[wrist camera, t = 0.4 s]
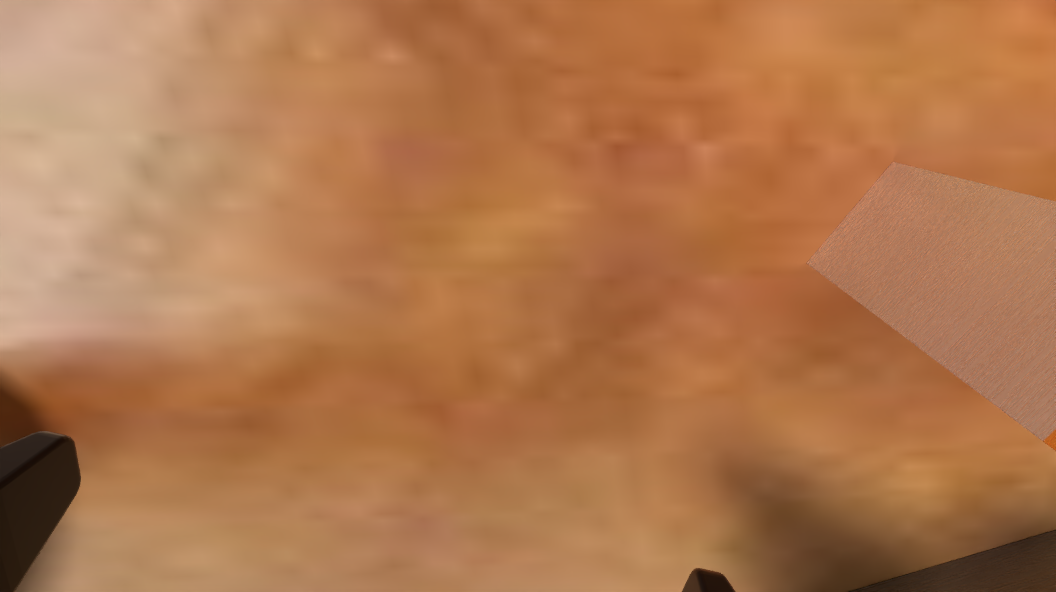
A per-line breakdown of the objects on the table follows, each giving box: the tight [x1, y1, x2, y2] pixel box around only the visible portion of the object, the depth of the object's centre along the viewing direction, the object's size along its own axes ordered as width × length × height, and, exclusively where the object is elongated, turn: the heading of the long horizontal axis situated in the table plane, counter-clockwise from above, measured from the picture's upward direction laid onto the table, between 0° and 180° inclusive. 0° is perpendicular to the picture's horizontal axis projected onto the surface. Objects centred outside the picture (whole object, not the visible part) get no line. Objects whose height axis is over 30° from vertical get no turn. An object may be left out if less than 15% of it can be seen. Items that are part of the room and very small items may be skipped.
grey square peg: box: [807, 162, 1056, 451], centre depth 16 cm, size 4×4×12 cm
